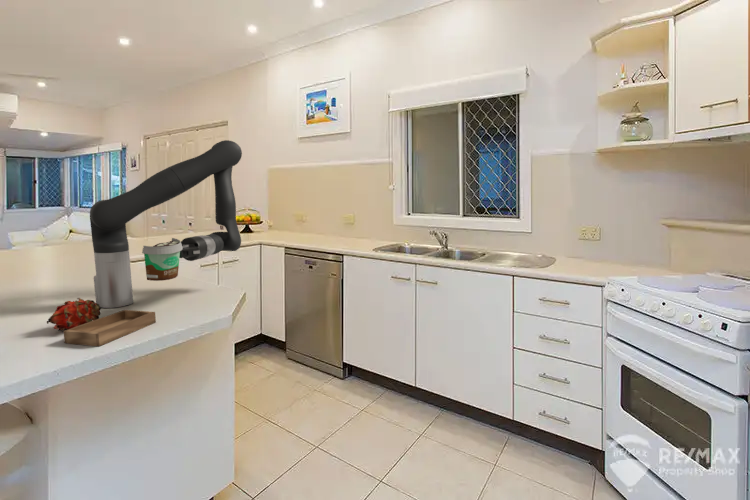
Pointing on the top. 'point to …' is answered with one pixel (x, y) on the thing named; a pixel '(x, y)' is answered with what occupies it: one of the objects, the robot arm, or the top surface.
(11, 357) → the top surface
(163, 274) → the food container
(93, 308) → the dragon fruit
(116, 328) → the wooden tray
